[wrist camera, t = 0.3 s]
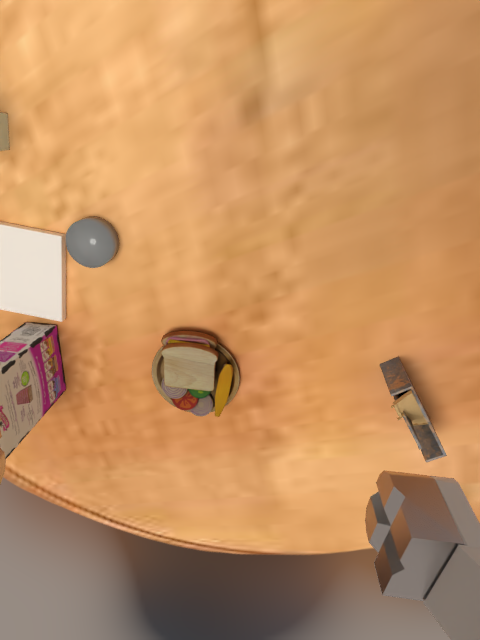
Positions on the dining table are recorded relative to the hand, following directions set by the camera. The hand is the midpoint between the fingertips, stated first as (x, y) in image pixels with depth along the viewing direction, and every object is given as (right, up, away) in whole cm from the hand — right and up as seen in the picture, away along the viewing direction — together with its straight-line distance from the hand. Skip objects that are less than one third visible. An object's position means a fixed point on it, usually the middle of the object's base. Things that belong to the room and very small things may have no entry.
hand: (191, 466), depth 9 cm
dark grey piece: (+24, -7, +51) cm, 57 cm away
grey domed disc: (-17, +13, +47) cm, 52 cm away
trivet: (-28, +10, +49) cm, 58 cm away
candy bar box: (-27, -2, +55) cm, 61 cm away
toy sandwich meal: (-5, -4, +53) cm, 53 cm away
